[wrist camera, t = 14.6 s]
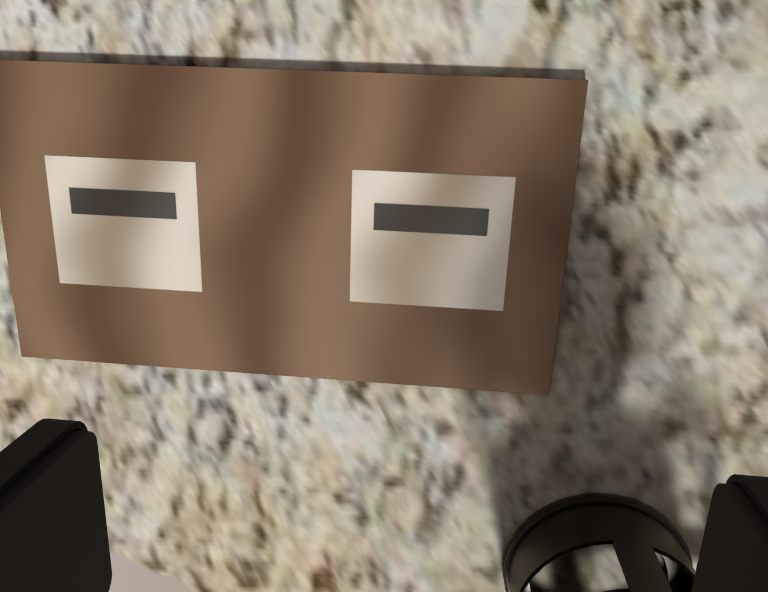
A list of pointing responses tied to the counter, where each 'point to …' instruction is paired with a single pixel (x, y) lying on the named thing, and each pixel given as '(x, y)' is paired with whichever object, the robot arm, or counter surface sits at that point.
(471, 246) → the label board
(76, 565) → the robot arm
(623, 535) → the french press
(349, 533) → the counter surface
